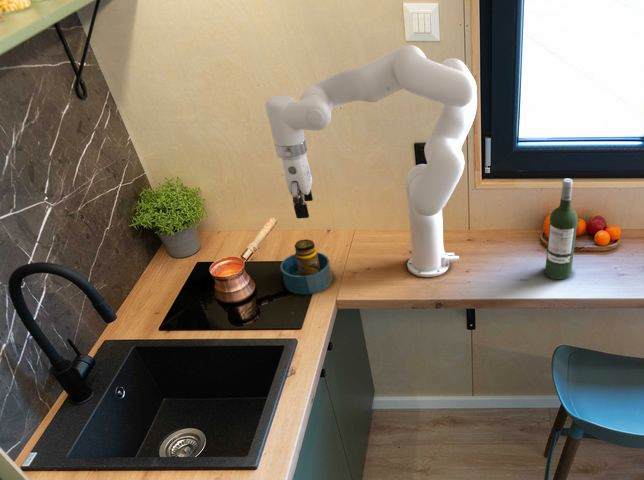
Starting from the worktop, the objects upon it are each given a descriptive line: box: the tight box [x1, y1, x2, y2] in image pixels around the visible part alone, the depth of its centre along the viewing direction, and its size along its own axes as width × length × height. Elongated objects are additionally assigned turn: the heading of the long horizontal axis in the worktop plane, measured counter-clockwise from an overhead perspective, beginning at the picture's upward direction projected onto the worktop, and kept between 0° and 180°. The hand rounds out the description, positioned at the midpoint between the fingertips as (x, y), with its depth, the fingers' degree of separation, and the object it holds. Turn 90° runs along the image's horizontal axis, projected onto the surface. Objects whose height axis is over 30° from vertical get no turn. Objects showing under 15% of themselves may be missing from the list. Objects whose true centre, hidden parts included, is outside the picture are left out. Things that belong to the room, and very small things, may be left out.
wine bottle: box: [544, 177, 579, 280], centre depth 172 cm, size 8×8×30 cm
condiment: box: [294, 239, 321, 276], centre depth 170 cm, size 7×8×12 cm
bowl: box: [280, 251, 333, 295], centre depth 172 cm, size 13×13×6 cm
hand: (305, 209), depth 162 cm, fingers open, 9 cm apart
